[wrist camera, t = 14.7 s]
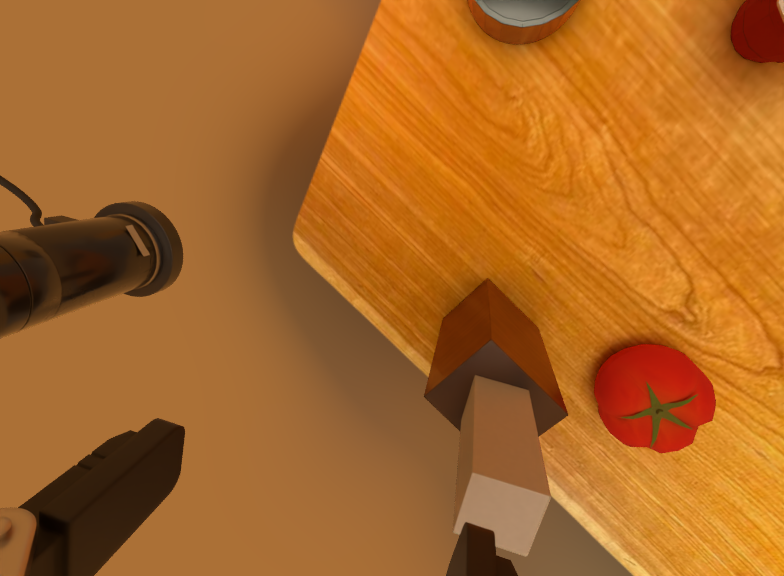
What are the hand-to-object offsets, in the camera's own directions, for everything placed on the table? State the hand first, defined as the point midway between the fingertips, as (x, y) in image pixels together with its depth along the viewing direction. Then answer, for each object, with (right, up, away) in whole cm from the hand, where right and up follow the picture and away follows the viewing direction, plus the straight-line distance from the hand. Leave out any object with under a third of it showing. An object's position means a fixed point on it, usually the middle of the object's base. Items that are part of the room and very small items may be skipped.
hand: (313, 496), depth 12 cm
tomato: (+29, -5, +37) cm, 47 cm away
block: (+10, -3, +21) cm, 24 cm away
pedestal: (+13, +2, +38) cm, 41 cm away
